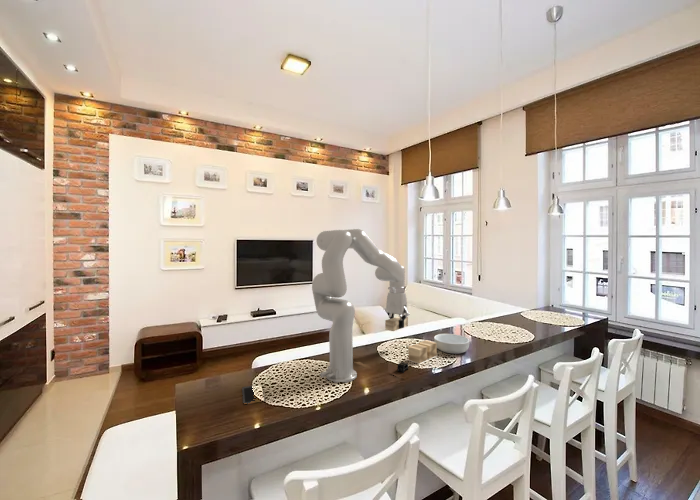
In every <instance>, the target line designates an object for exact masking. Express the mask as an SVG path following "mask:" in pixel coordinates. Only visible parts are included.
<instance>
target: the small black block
mask: <svg viewBox="0 0 700 500" xmlns="http://www.w3.org/2000/svg"><path fill="white" fill-rule="evenodd" d="M396 369H397V372H398V373H401V374H405V371H406V370H407V371H408V370H409V363H408V362H406V361H405V362H404V361H401V362H399V363H398V364H397V368H396Z"/></svg>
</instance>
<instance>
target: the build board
mask: <svg viewBox="0 0 700 500" xmlns="http://www.w3.org/2000/svg"><path fill="white" fill-rule="evenodd" d="M438 356H439V355H438V354H437V356H435V357H432V358H430V359H429V358H427V360H426V361H424V362H422V363H417V362H414V361H411V360H409V358H408V359H407V361H409V362H412V363H415V364H418V365H421V364H423V363H425V362H429V360H432V359H435V358H437V357H438Z"/></svg>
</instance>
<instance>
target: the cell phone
mask: <svg viewBox="0 0 700 500" xmlns="http://www.w3.org/2000/svg"><path fill="white" fill-rule="evenodd" d="M252 386H253V385H247V386H243V387H241V388H242V389H241V392H242V395H243V396H242V404H243V403H247V404H248V403H250V402H251V401H255V400H253V399H256V398H254V396H253V395H254V392H253V390H252V389H253V388H252Z"/></svg>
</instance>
